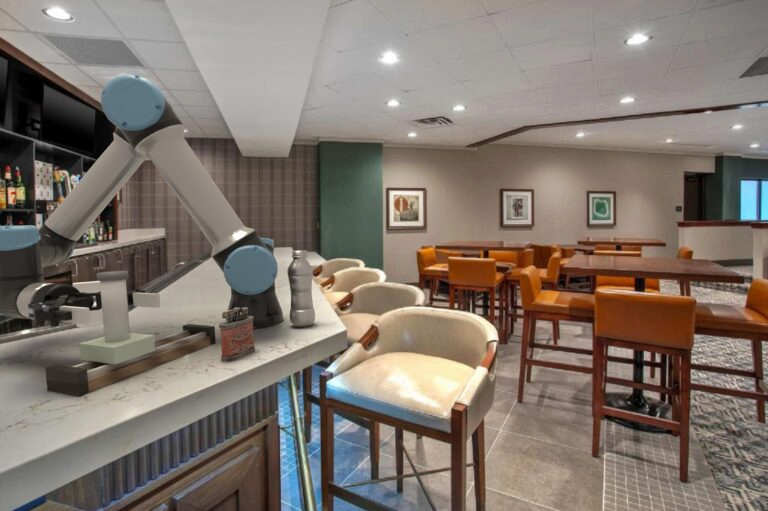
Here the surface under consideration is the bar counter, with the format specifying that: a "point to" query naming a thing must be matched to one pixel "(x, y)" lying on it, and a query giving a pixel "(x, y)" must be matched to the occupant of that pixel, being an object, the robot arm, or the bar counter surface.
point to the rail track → (127, 362)
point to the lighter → (236, 334)
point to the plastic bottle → (301, 290)
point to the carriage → (115, 325)
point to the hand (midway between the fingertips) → (126, 307)
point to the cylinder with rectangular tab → (95, 315)
